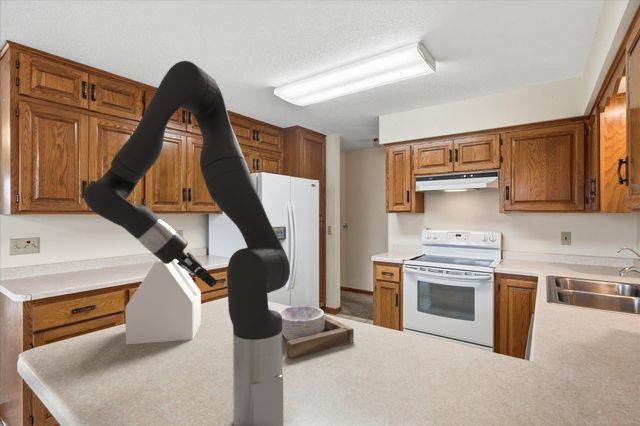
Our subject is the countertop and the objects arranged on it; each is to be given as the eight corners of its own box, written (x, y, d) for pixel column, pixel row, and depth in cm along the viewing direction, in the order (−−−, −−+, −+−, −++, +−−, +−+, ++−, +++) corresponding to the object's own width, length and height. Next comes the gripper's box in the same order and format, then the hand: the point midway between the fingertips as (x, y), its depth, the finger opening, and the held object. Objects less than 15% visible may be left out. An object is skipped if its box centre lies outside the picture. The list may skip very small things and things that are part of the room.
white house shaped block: (125, 344, 99) (125, 262, 99) (143, 327, 114) (142, 255, 114) (192, 339, 103) (192, 260, 103) (200, 323, 118) (200, 254, 118)
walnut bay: (353, 341, 100) (353, 328, 100) (291, 359, 89) (291, 344, 89) (311, 319, 121) (311, 308, 121) (256, 331, 110) (256, 319, 110)
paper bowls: (281, 349, 95) (281, 322, 95) (273, 331, 110) (273, 307, 110) (331, 343, 100) (331, 317, 100) (316, 326, 114) (316, 303, 114)
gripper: (178, 231, 77) (227, 274, 83) (170, 229, 89) (213, 267, 95) (154, 255, 75) (206, 298, 81) (148, 249, 87) (194, 287, 93)
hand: (210, 281), depth 88 cm, fingers open, 8 cm apart
